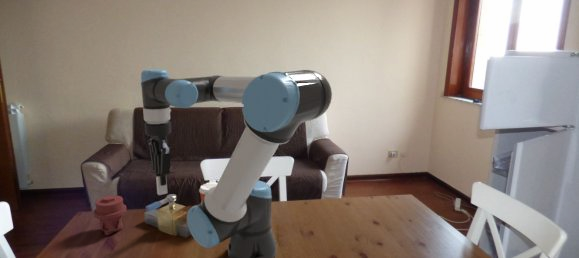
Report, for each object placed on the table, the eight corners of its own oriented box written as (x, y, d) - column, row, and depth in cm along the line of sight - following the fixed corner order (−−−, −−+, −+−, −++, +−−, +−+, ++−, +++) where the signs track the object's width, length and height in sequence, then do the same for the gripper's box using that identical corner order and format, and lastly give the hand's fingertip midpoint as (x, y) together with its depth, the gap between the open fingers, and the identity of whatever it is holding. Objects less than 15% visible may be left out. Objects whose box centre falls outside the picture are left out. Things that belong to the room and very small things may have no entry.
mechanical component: (134, 225, 130) (115, 239, 121) (109, 222, 132) (89, 236, 123) (131, 193, 127) (112, 205, 118) (105, 190, 129) (85, 202, 120)
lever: (178, 199, 126) (178, 195, 126) (151, 212, 116) (150, 208, 116) (171, 197, 127) (171, 193, 127) (144, 210, 118) (143, 206, 117)
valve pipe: (197, 230, 127) (195, 202, 124) (183, 239, 121) (181, 209, 119) (156, 217, 136) (154, 190, 134) (142, 224, 131) (139, 196, 128)
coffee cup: (195, 227, 129) (193, 187, 126) (211, 217, 136) (209, 180, 133) (214, 233, 125) (213, 192, 122) (229, 223, 133) (228, 184, 129)
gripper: (178, 123, 108) (182, 197, 114) (161, 116, 118) (165, 184, 124) (153, 126, 104) (158, 203, 109) (137, 118, 113) (143, 190, 119)
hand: (162, 193), depth 116 cm, fingers closed
